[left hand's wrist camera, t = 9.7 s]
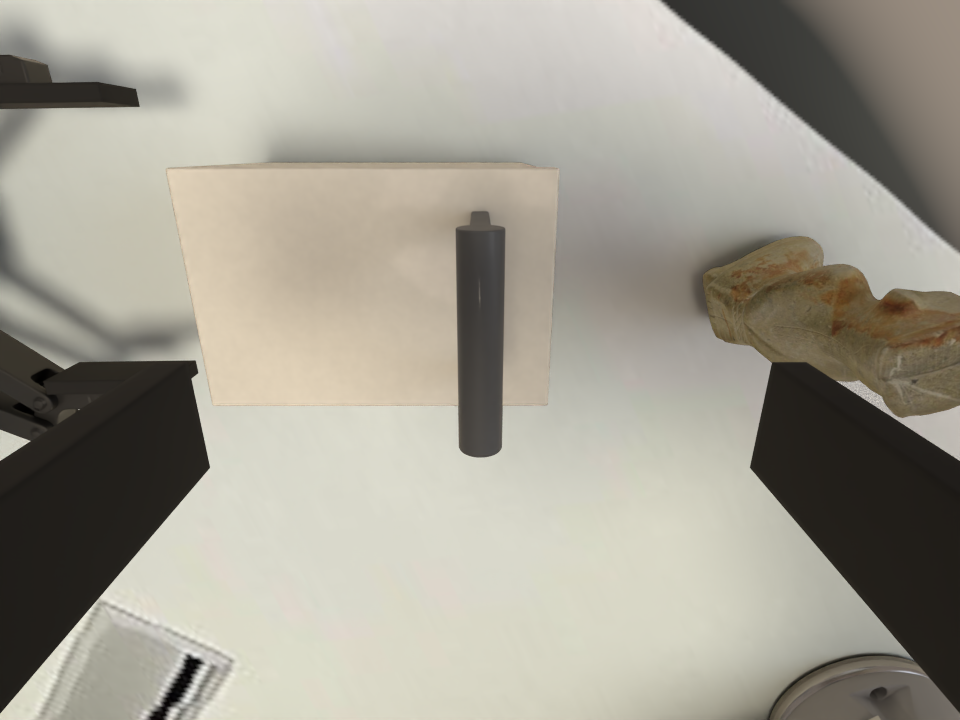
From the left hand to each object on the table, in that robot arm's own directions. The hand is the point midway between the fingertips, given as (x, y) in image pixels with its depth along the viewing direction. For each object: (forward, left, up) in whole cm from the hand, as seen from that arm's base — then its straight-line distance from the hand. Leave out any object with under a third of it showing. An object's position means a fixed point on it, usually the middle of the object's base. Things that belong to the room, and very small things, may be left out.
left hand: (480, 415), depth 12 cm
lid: (+4, +3, -12) cm, 13 cm away
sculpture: (-15, -7, -22) cm, 28 cm away
